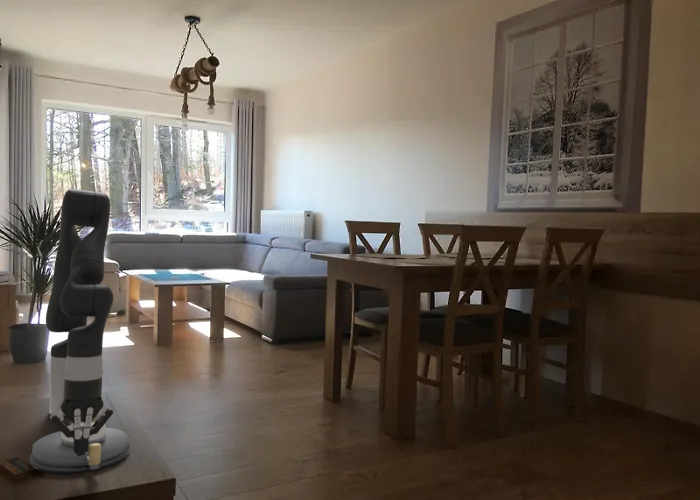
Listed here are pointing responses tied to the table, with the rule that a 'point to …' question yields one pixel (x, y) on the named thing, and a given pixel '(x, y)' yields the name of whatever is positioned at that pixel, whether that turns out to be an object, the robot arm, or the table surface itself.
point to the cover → (94, 438)
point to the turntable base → (79, 468)
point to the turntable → (59, 456)
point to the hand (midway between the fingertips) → (80, 454)
